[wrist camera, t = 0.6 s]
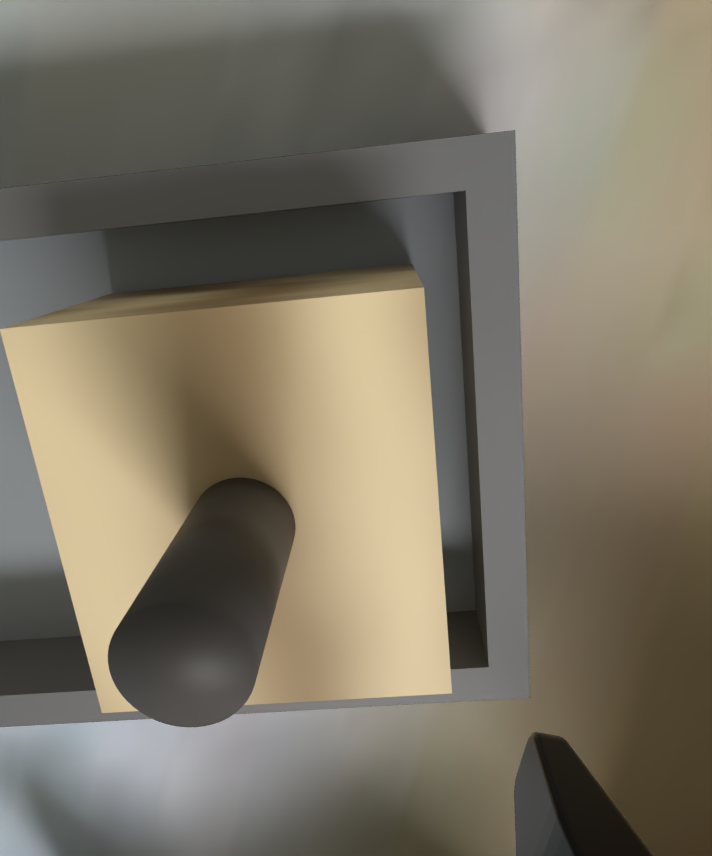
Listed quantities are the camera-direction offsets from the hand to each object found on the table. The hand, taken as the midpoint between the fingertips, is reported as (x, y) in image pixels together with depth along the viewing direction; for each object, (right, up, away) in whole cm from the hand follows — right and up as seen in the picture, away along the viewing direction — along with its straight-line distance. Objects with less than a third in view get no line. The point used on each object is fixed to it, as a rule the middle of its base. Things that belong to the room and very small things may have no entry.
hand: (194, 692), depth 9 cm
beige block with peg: (0, +3, +12) cm, 13 cm away
